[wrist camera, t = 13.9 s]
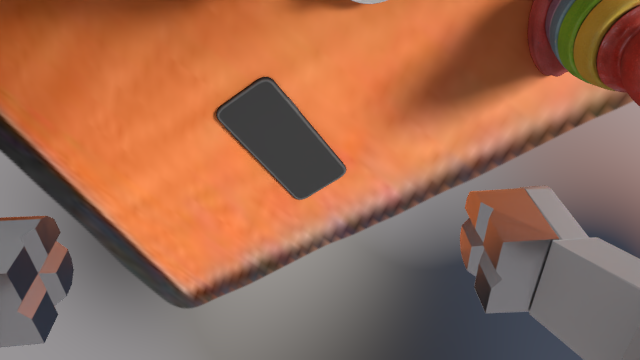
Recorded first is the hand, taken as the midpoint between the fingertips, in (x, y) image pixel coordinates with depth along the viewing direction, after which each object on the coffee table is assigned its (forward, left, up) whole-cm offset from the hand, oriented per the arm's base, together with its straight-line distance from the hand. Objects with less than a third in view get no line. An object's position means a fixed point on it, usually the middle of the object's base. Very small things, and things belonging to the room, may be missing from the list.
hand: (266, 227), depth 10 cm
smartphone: (+1, +21, -40) cm, 45 cm away
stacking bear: (-28, +8, -39) cm, 49 cm away
